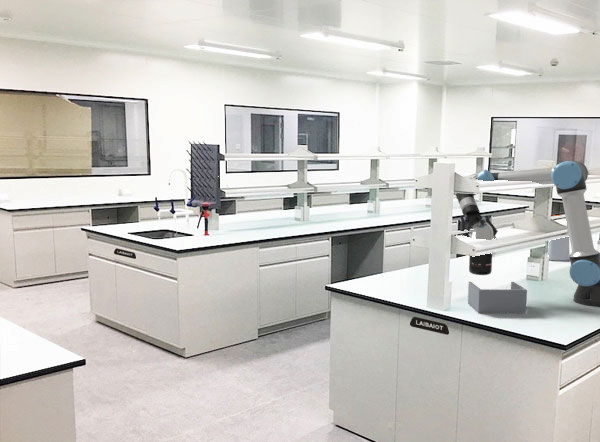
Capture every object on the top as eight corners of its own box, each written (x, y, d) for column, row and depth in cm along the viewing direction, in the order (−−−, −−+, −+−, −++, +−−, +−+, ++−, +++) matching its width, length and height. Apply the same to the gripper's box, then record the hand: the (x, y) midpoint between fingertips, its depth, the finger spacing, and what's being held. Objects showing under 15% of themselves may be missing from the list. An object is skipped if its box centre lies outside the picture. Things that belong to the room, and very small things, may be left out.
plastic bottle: (571, 261, 351) (573, 217, 348) (545, 260, 354) (547, 216, 351) (564, 257, 366) (566, 214, 363) (539, 256, 369) (541, 214, 365)
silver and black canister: (495, 273, 260) (497, 219, 257) (486, 276, 252) (488, 221, 249) (474, 270, 266) (476, 217, 263) (464, 273, 259) (466, 219, 256)
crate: (512, 303, 252) (513, 281, 251) (525, 313, 237) (527, 290, 236) (467, 303, 253) (468, 281, 251) (478, 313, 237) (479, 289, 236)
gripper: (488, 213, 273) (504, 250, 259) (444, 214, 269) (458, 252, 256) (494, 203, 267) (510, 241, 254) (449, 204, 263) (463, 242, 250)
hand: (484, 246), depth 255 cm, fingers closed on silver and black canister, 10 cm apart
